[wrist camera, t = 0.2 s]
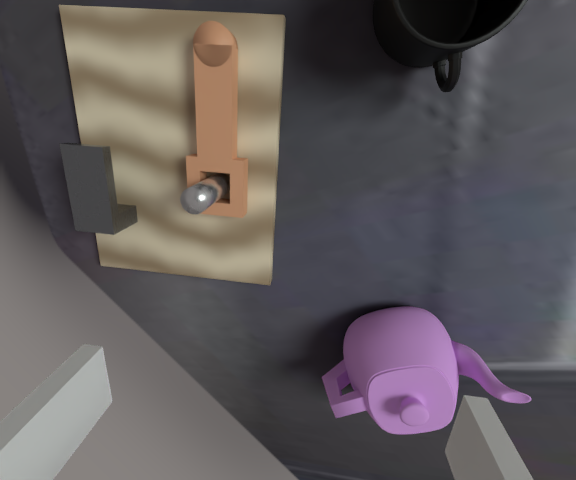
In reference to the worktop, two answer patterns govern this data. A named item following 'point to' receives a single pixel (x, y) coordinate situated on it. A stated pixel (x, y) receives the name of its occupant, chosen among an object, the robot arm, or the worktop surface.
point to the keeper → (94, 190)
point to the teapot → (406, 371)
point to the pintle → (205, 193)
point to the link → (217, 117)
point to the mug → (439, 30)
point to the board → (176, 134)
